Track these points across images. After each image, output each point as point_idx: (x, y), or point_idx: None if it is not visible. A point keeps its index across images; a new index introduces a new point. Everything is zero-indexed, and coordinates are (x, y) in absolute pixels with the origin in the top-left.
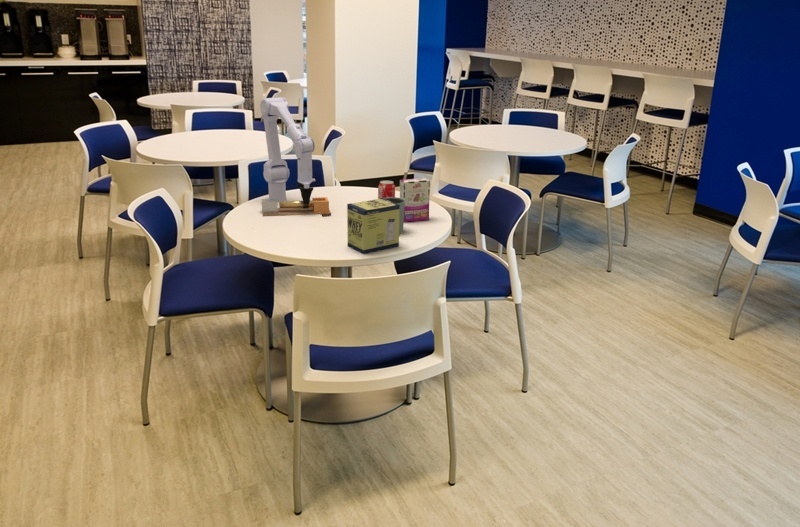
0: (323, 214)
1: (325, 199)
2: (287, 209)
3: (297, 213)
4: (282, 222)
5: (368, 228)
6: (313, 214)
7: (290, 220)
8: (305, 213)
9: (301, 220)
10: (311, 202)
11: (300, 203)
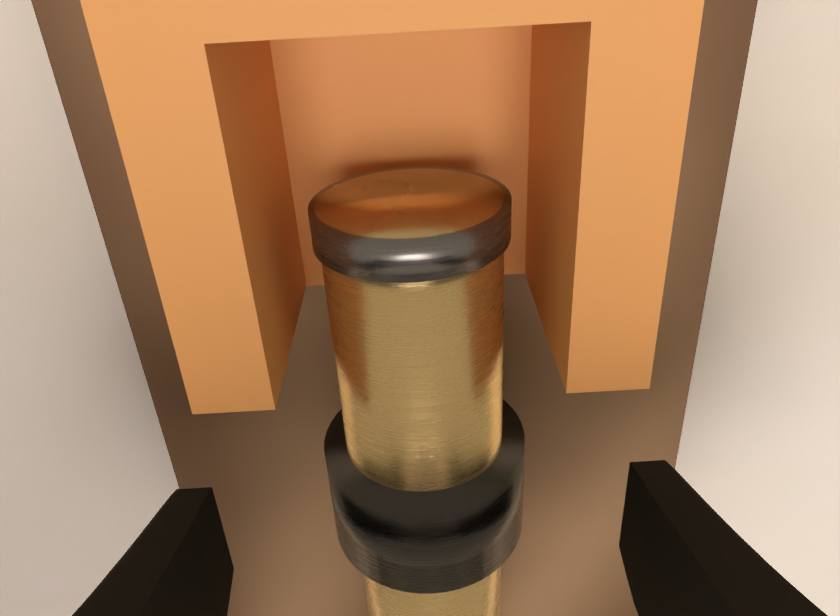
0: (740, 64)
1: (426, 30)
2: (332, 605)
3: (577, 497)
4: (825, 611)
5: None
6: (708, 270)
7: (772, 541)
8: (608, 394)
9: (830, 423)
10: (493, 404)
11: (494, 578)
